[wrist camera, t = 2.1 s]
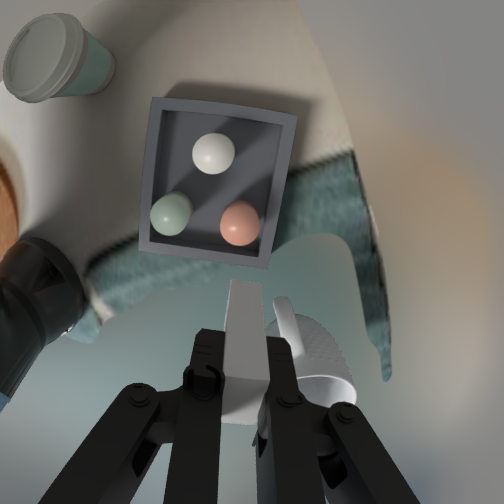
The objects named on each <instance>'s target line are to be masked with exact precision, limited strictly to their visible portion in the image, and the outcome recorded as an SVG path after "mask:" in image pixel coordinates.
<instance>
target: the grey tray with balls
mask: <svg viewBox="0 0 504 504" xmlns="http://www.w3.org/2000/svg"><path fill="white" fill-rule="evenodd" d="M297 119H298V116H297V115H292V114H287V113H282V112H277V111H272V110H266V109H260V108H254V107H248V106H242V105H235V104H227V103H219V102H211V101H201V100H190V99H177V98H160V97H152V102H151V108H150V115H149V122H148V129H147V137H146V145H145V154H144V163H143V174H142V186H141V201H140V220H139V251H145V252H152V253H158V254H165V255H171V256H178V257H185V258H192V259H198V260H205V261H212V262H219V263H226V264H233V265H240V266H248V267H255V268H262V269H268V265H269V260H270V255H271V251H272V246H273V241H274V236H275V231H276V227H277V222H278V217H279V212H280V207H281V202H282V197H283V192H284V187H285V182H286V177H287V171H288V166H289V161H290V156H291V151H292V145H293V140H294V135H295V130H296V124H297ZM210 133H219V134H223V135H225V136H227V137H229V138H230V139H231V141H232V142H233V144H234V147H235V156H234V159H233V161H232V163H231V165H230V166H229V167H228V168H227V169H226V170H225V171H223V172H221V173H218V174H207V173H205V172H203V171H201V170H200V169H199V168H198V167H197V166H196V165H195V163H194V161H193V157H192V151H193V147H194V145H195V143H196V142H197V141H198V139H200V138H201V137H202V136H204V135H206V134H210ZM171 191H180V192H183V193H185V194H186V195H187V196H188V197H189V198H190V199H191V201H192V204H193V214H192V216H191V218H190V220H189V221H188V223H187V225H186V226H185V228H184V229H183V230H182V231H181V232H180V233H178V234H176V235H172V236H168V235H164V234H161V233H159V232H158V231H157V230H156V229H155V228H154V227H153V225H152V223H151V220H150V212H151V209H152V207H153V205H154V204H155V203H156V202H157V201H158V200H159V199H161V198H162V197H163V196H164V195H165V194H167V193H169V192H171ZM236 200H245V201H248V202H250V203H251V204H252V205H253V206H254V207H255V208H256V210H257V213H258V218H259V224H260V230H259V233H258V236H257V237H256V238H255V240H254V241H252V242H251V243H249V244H247V245H243V246H237V245H233V244H231V243H229V242H227V241H226V240H225V239H224V237H223V236H222V234H221V231H220V222H221V218H222V214H223V211H224V209H225V207H226V206H227V205H228V204H229V203H231V202H233V201H236Z"/></svg>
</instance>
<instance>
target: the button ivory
mask: <svg viewBox="0 0 504 504" xmlns="http://www.w3.org/2000/svg"><path fill="white" fill-rule="evenodd" d="M234 156H235V147H234V144H233V142H232V141H231V139H230V138H229V137H227V136H225V135H223V134H219V133H210V134H206V135H204V136H202V137H201V138H200V139H198V141H197V142H196V143H195V145H194V147H193V151H192V157H193V161H194V163H195V165H196V166H197V167H198V168H199V169H200V170H201V171H203V172H205V173H207V174H218V173H221V172H223V171H225V170H226V169H227V168H228V167H229V166H230V165H231V163H232V161H233V159H234Z"/></svg>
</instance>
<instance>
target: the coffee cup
mask: <svg viewBox="0 0 504 504" xmlns="http://www.w3.org/2000/svg"><path fill="white" fill-rule="evenodd" d="M115 67H116V63H115V58H114V56H113V54H112V53H111V52H110V51H109V50H108V49H106V48H105V47H104V46H103V45H102V44H101V43H100V42H99V41H97V40H96V39H95V38H94V37H93V36H92V35H91V34H89V33H88V32H87V31H86V30H85V29H84V28H82V26H81V24H80V22H79V21H78V20H77V19H76V18H75V17H74V16H72V15H69V14H64V13H54V14H45V15H42V16H39V17H37V18H35V19H33V20H32V21H31V22H29V23H28V24H26V25H25V26H24V27H23V28H22V29H21V31H20V32H19V33H18V34H17V35H16V37H15V38H14V40H13V42H12V43H11V45H10V47H9V49H8V51H7V54H6V57H5V61H4V66H3V80H4V84H5V86H6V88H7V90H8V91H9V92H10V93H11V94H13V95H14V96H15V97H16V98H18V99H19V100H21V101H24V102H27V103H38V102H41V101H44V100H46V99H48V98H55V97H66V96H78V95H91V94H95V93H98V92H100V91H101V90H103V89H104V88H105V87H106V86H107V85H108V84H109V82H110V81H111V79H112V77H113V75H114V72H115Z"/></svg>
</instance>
